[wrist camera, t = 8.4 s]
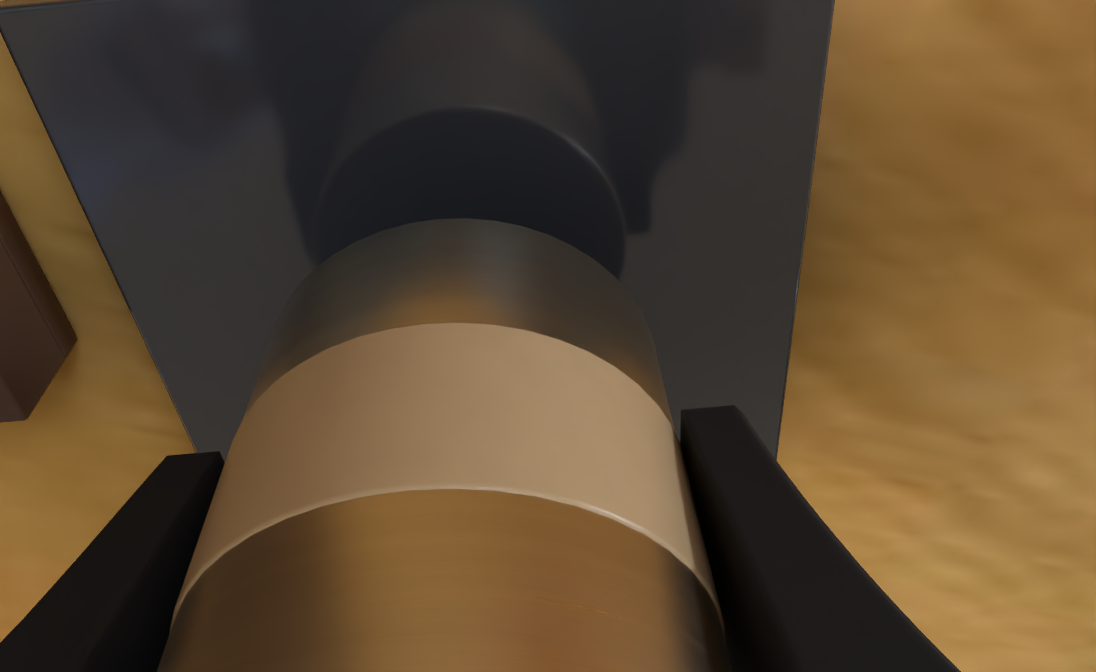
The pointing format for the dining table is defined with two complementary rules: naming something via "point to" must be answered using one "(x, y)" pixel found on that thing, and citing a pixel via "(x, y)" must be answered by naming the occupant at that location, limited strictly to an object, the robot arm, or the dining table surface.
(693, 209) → the slate coaster
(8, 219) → the tray
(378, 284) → the teal lidded glass jar
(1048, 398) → the dining table surface
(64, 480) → the dining table surface
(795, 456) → the dining table surface
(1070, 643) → the dining table surface
